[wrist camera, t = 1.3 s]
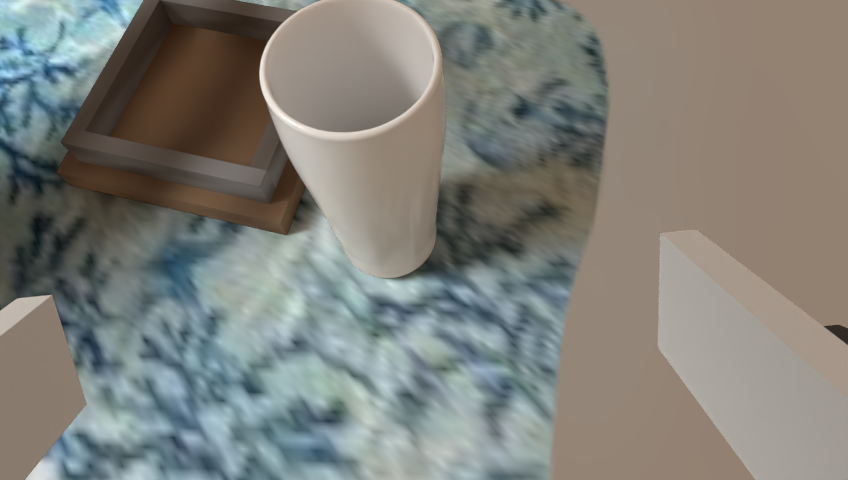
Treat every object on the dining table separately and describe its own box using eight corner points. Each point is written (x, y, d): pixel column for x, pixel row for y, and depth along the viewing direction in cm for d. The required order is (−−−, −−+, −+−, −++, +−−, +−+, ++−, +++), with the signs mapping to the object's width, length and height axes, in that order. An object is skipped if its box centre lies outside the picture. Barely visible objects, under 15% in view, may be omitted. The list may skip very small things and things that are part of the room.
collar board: (70, 185, 40) (36, 153, 36) (166, 12, 45) (144, -29, 42) (286, 235, 37) (270, 206, 34) (360, 47, 43) (352, 7, 40)
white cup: (348, 177, 39) (288, -21, 25) (460, 196, 38) (461, 1, 24) (315, 281, 36) (229, 123, 23) (435, 305, 35) (421, 155, 22)
